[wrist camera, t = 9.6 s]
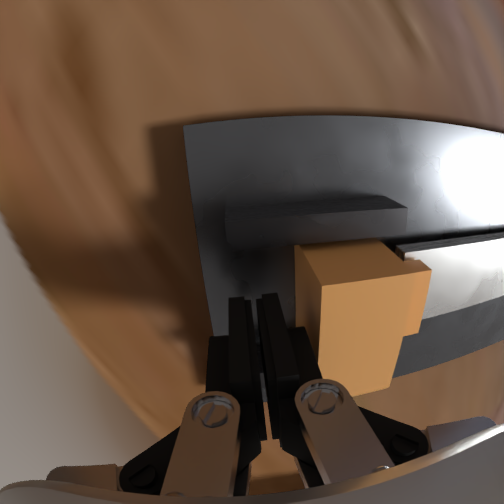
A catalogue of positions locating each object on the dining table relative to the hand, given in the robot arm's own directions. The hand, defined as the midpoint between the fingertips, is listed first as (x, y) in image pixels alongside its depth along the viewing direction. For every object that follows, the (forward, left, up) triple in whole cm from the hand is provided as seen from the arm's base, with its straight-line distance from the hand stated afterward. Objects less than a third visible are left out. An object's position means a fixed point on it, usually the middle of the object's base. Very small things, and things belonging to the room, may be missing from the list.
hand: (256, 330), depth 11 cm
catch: (0, -4, -2) cm, 5 cm away
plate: (0, -10, -4) cm, 11 cm away
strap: (0, -13, -2) cm, 14 cm away
